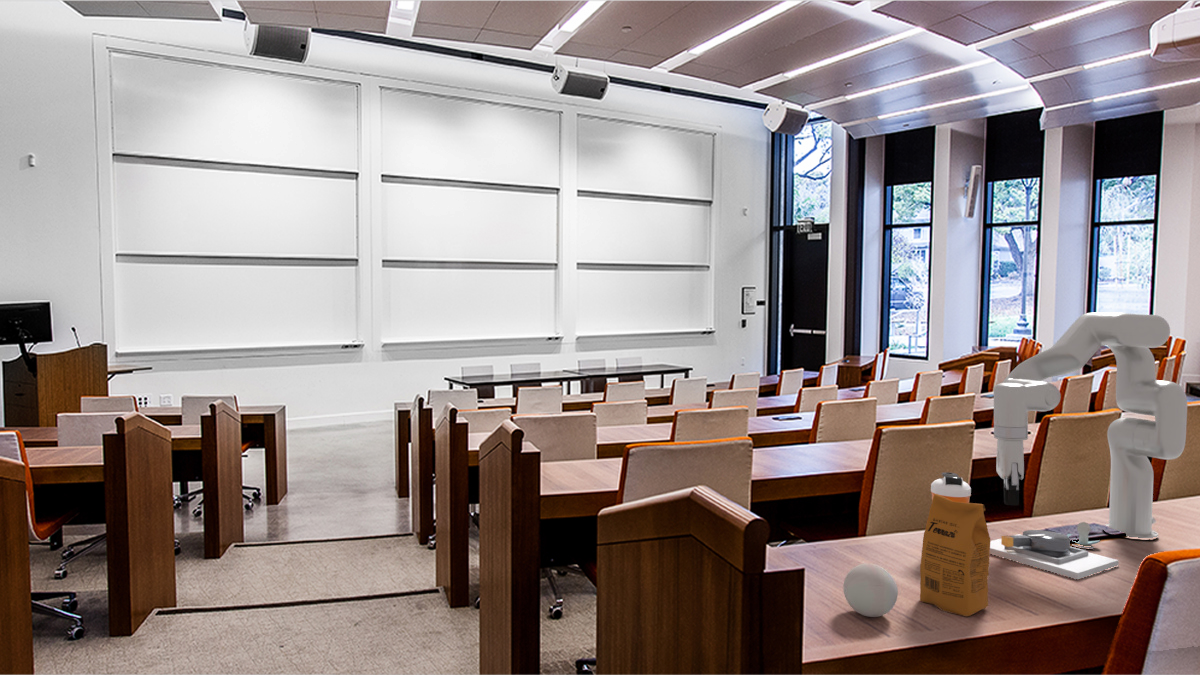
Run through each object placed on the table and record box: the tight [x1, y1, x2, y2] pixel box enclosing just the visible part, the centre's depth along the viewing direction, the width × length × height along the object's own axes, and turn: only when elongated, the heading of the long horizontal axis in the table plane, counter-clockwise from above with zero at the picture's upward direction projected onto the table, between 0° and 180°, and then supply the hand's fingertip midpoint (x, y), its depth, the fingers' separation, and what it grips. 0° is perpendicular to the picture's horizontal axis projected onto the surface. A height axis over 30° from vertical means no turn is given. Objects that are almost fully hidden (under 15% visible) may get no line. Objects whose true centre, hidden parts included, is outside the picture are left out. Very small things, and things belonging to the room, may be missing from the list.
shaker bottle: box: [930, 471, 972, 503], centre depth 187 cm, size 9×9×20 cm
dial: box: [1000, 529, 1071, 558], centre depth 185 cm, size 16×10×4 cm, turn 97°
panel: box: [989, 533, 1120, 580], centre depth 186 cm, size 18×24×3 cm
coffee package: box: [919, 494, 991, 617], centre depth 155 cm, size 10×12×22 cm
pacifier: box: [1066, 521, 1101, 550], centre depth 196 cm, size 7×6×6 cm
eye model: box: [842, 563, 899, 618], centre depth 150 cm, size 10×10×10 cm
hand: (1011, 504), depth 193 cm, fingers closed
